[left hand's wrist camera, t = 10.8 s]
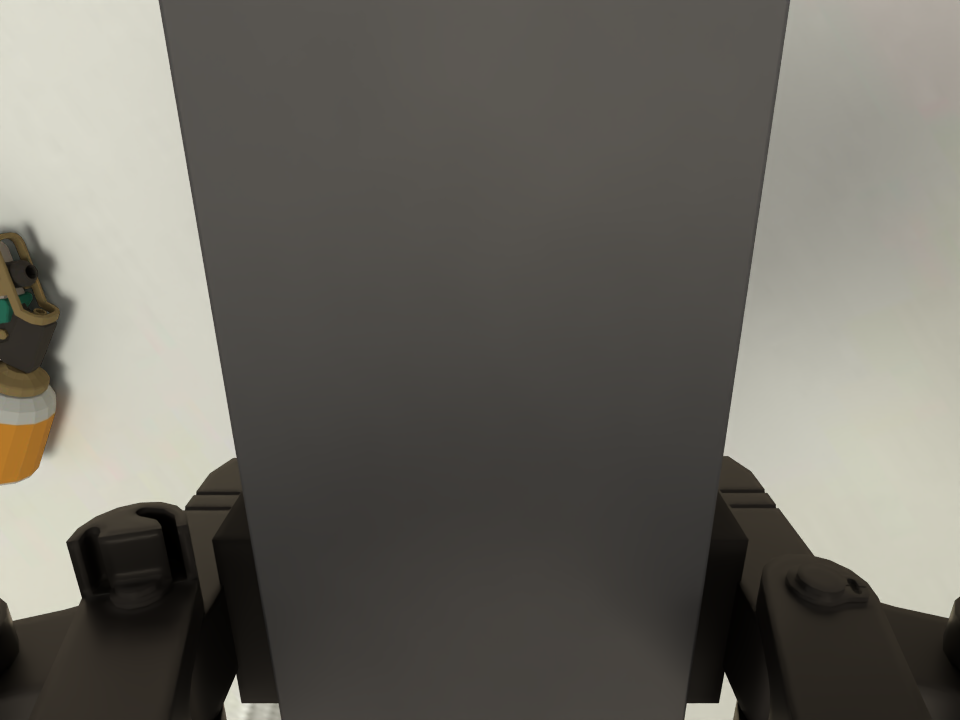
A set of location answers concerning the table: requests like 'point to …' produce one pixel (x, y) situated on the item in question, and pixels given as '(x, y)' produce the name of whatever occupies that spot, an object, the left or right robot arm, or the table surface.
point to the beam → (478, 333)
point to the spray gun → (23, 365)
